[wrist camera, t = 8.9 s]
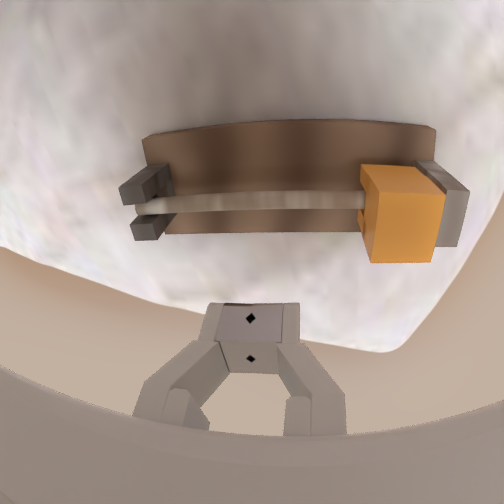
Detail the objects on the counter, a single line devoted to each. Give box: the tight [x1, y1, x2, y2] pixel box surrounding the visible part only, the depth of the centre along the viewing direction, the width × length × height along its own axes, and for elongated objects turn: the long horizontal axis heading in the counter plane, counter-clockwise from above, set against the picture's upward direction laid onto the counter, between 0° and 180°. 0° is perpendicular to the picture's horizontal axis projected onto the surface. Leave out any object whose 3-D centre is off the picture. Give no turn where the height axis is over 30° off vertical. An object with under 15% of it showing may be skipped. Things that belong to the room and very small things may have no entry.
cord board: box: [118, 119, 470, 247], centre depth 20 cm, size 23×9×8 cm, turn 96°
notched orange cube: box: [357, 164, 446, 263], centre depth 16 cm, size 4×4×5 cm
